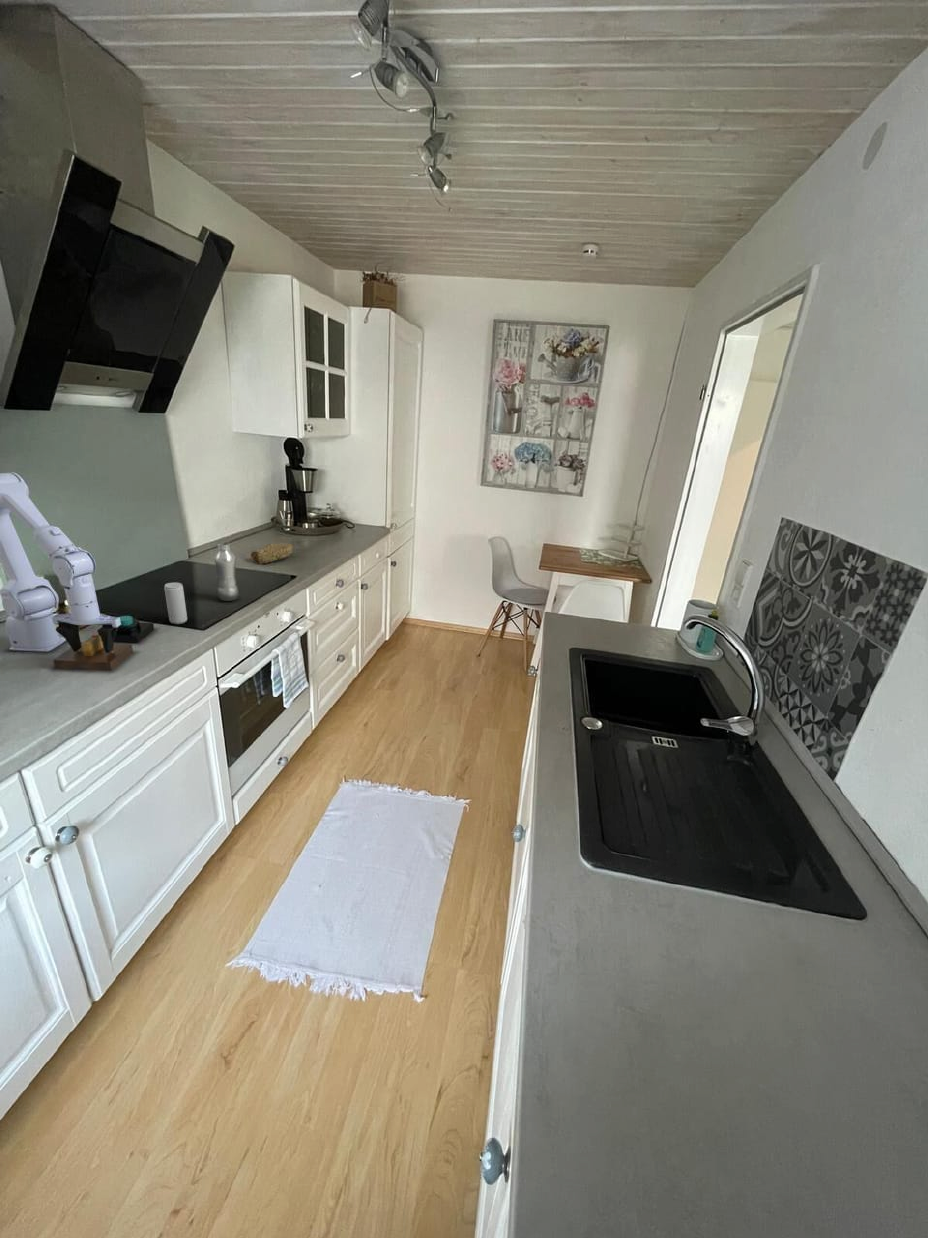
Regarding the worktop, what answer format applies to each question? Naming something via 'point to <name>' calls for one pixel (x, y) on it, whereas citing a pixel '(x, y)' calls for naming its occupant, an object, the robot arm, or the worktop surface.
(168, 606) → the beverage can
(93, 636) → the thumbturn
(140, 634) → the lock button box
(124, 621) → the lock button
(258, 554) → the tan oblong lump
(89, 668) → the plate
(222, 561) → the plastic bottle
